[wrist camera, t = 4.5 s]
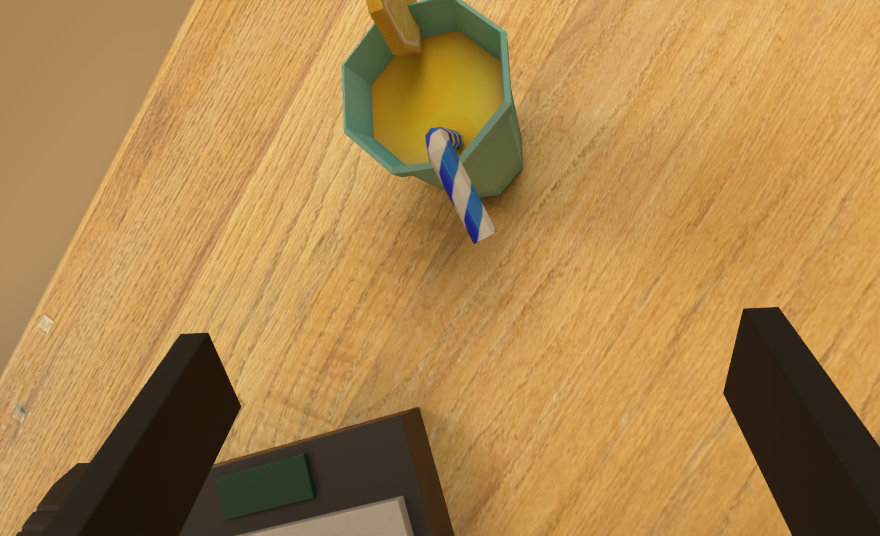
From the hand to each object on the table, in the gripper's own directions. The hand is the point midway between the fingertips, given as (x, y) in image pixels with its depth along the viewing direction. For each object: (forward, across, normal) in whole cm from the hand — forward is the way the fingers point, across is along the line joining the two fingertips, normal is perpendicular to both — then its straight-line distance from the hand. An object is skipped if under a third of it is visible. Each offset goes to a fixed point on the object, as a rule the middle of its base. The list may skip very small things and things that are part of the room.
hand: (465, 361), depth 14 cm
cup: (+20, 0, -4) cm, 20 cm away
